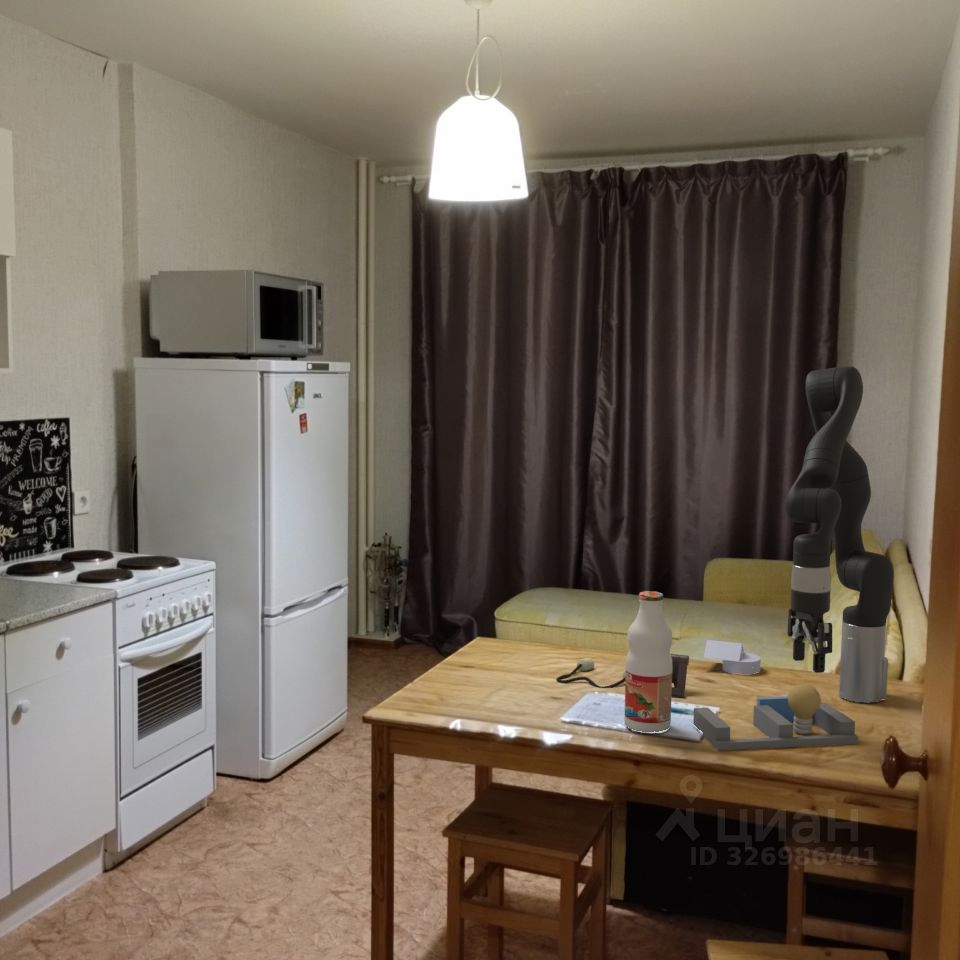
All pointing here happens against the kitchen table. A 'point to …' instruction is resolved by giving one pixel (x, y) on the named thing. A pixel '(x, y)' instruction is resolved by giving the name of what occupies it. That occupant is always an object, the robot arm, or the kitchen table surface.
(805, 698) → the light bulb
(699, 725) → the gray e-shaped frame
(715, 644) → the wedge on round base
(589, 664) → the cable
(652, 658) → the fruit juice
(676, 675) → the portable electronic device stand
